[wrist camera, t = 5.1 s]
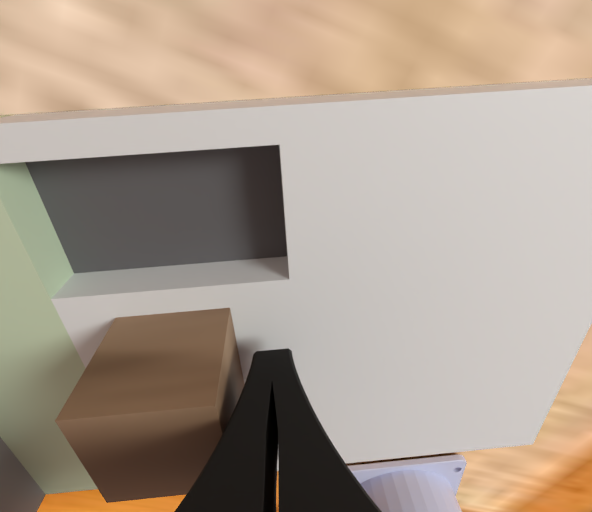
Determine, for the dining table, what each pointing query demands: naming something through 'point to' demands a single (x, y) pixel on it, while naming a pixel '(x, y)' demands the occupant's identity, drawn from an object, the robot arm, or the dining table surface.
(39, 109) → the dining table surface
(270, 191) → the board
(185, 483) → the walnut block
